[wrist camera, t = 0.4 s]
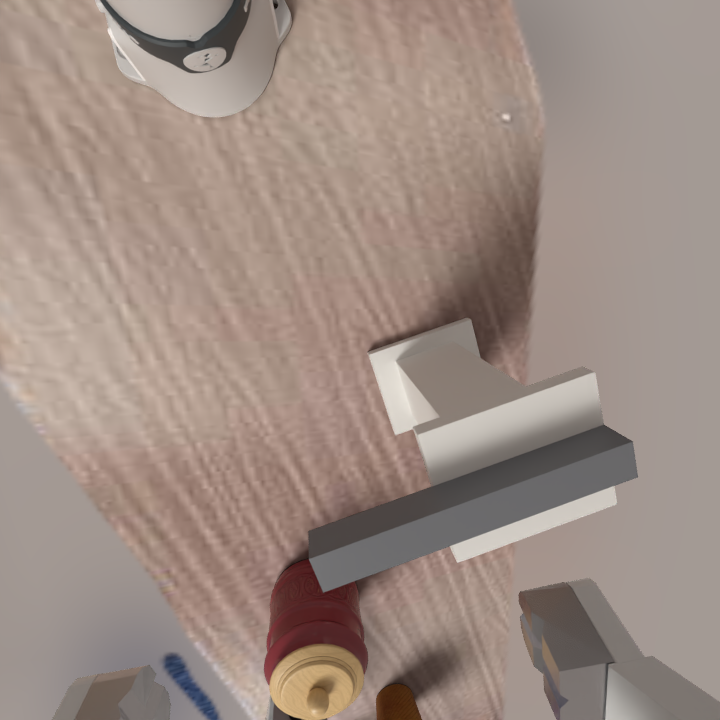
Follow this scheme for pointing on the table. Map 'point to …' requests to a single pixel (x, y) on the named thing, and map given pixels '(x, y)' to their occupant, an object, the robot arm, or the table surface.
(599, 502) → the stand
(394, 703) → the disposable coffee cup
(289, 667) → the canister
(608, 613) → the robot arm
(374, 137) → the table surface
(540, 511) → the bar
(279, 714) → the circuit breaker
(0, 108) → the table surface
